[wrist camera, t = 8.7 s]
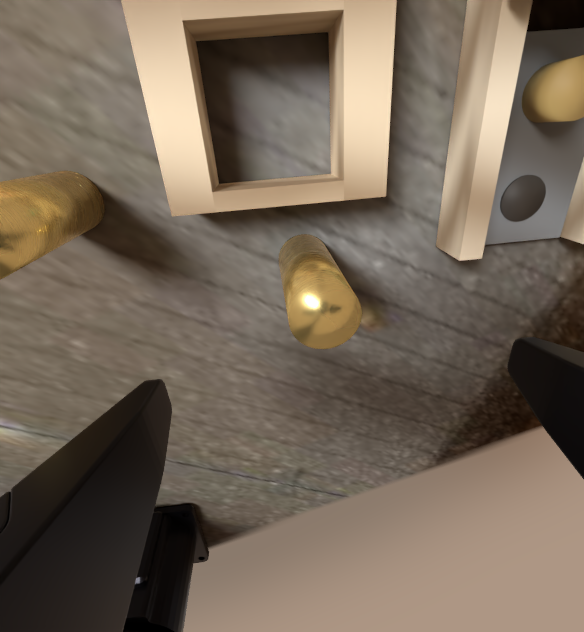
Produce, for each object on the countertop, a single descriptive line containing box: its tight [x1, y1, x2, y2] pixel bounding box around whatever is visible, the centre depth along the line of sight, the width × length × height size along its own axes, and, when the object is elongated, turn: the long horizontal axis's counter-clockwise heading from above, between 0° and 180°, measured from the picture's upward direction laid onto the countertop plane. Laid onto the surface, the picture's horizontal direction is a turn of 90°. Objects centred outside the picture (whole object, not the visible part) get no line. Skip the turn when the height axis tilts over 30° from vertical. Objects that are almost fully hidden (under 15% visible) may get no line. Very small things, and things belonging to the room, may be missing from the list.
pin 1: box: [0, 171, 105, 279], centre depth 12 cm, size 2×2×6 cm
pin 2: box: [279, 234, 362, 349], centre depth 14 cm, size 2×2×6 cm
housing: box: [436, 0, 584, 261], centre depth 12 cm, size 17×7×2 cm, turn 4°
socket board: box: [121, 0, 397, 216], centre depth 11 cm, size 12×8×2 cm, turn 4°
